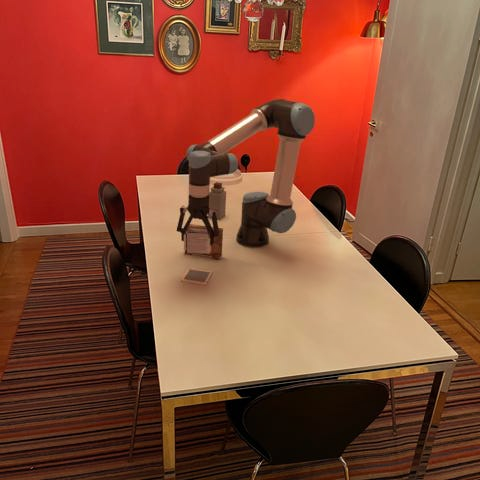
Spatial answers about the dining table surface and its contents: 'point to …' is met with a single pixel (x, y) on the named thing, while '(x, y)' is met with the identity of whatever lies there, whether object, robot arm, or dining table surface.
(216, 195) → the perfume bottle
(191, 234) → the box
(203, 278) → the picture frame
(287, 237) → the dining table surface
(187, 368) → the dining table surface
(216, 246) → the wooden board with stops
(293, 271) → the dining table surface
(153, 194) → the dining table surface
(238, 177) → the pale pink ring
